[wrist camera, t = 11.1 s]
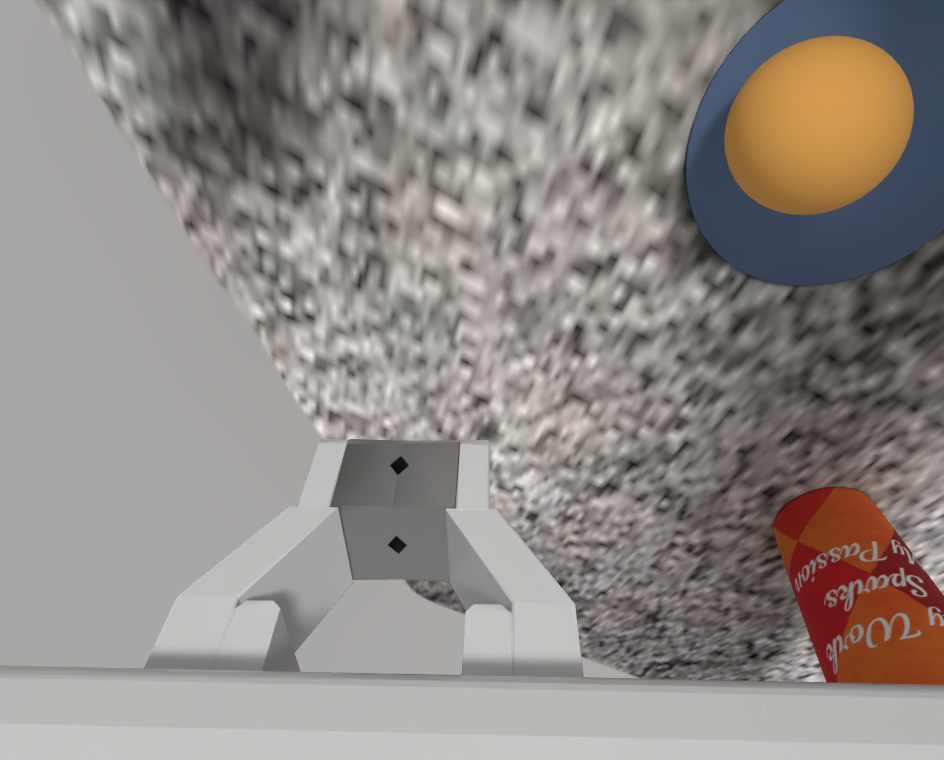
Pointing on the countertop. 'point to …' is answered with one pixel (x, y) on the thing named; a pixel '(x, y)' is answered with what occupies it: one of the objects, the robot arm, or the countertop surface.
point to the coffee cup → (861, 591)
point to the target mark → (863, 221)
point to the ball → (819, 125)
